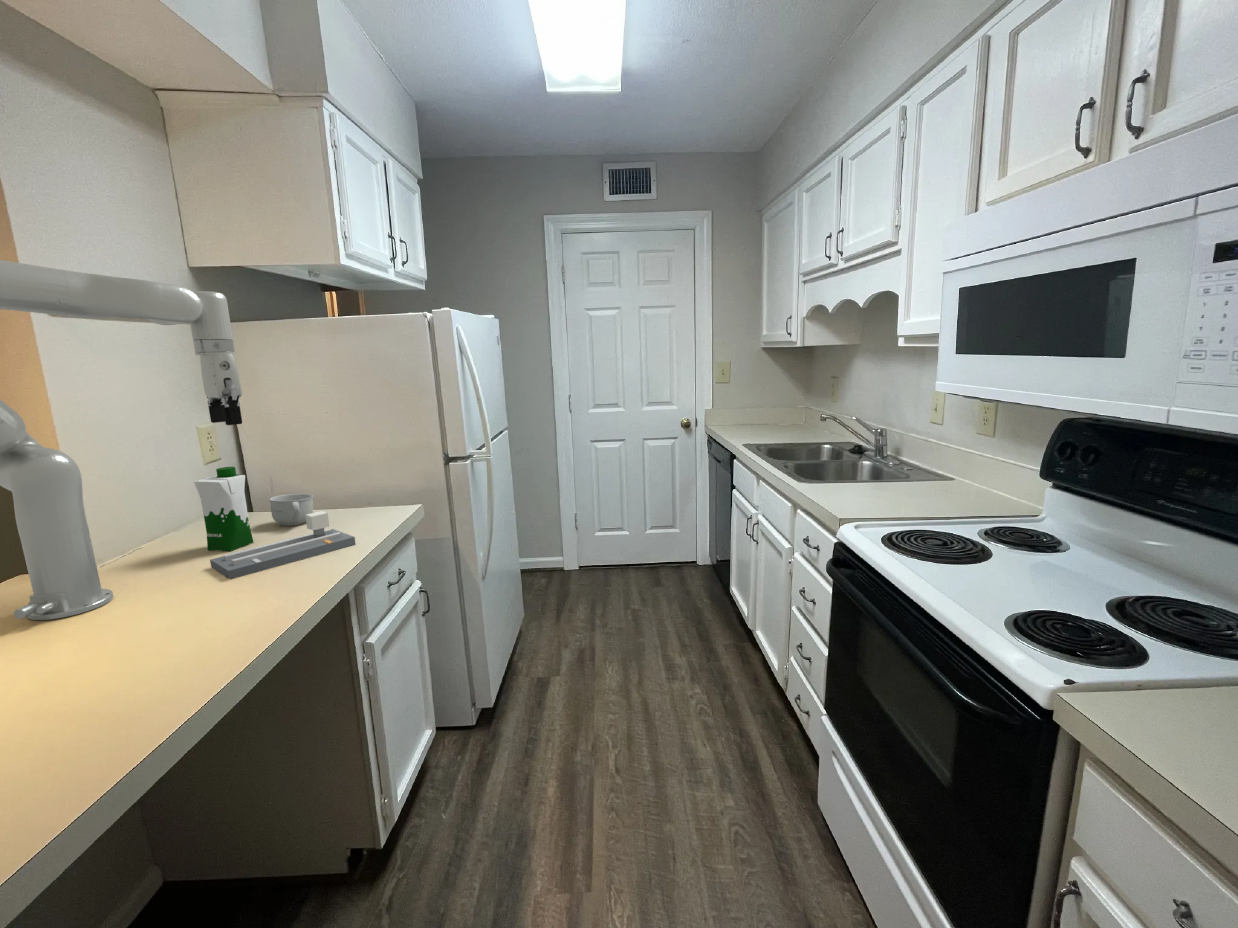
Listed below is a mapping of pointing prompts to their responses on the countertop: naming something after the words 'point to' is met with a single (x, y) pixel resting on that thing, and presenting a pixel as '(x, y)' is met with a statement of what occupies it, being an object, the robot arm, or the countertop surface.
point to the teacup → (291, 508)
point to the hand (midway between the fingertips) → (226, 423)
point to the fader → (317, 523)
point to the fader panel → (279, 553)
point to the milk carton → (225, 510)
